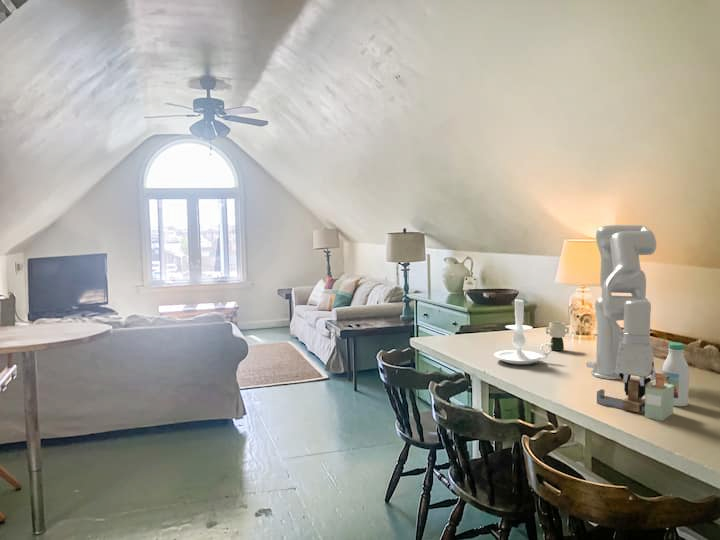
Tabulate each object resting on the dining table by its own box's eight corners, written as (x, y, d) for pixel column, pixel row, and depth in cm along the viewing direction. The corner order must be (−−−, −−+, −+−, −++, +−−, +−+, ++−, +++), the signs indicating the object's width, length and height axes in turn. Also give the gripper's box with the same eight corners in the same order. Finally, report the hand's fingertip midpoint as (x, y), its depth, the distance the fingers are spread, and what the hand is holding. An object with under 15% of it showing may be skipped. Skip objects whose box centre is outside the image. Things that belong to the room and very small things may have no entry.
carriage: (622, 408, 175) (622, 381, 175) (629, 404, 180) (630, 377, 179) (638, 412, 172) (639, 384, 171) (646, 407, 176) (647, 380, 175)
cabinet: (644, 417, 168) (644, 388, 168) (655, 409, 176) (656, 381, 175) (661, 421, 165) (662, 392, 164) (673, 413, 172) (674, 385, 171)
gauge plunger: (652, 396, 170) (653, 374, 170) (656, 394, 172) (656, 372, 172) (663, 398, 168) (663, 376, 167) (666, 396, 170) (667, 374, 169)
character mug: (565, 348, 266) (566, 321, 265) (571, 351, 259) (571, 324, 258) (543, 348, 266) (543, 322, 265) (548, 351, 259) (548, 324, 258)
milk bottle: (678, 399, 186) (680, 341, 184) (693, 406, 178) (695, 345, 177) (656, 400, 186) (658, 341, 184) (669, 407, 178) (672, 346, 176)
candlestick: (559, 368, 228) (560, 301, 226) (498, 368, 229) (499, 301, 227) (545, 357, 248) (546, 295, 246) (490, 356, 250) (490, 295, 248)
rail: (596, 403, 182) (596, 391, 182) (601, 400, 185) (601, 389, 185) (648, 414, 171) (648, 402, 171) (652, 411, 173) (652, 399, 173)
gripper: (605, 337, 177) (603, 393, 179) (660, 344, 165) (658, 404, 167) (614, 333, 182) (613, 388, 184) (668, 340, 171) (666, 398, 172)
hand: (634, 395), depth 175 cm, fingers closed on carriage, 3 cm apart
